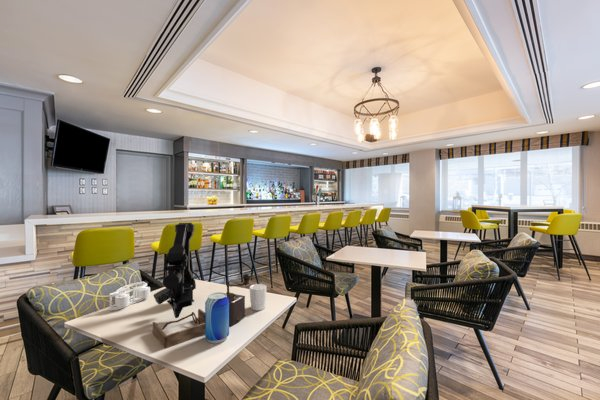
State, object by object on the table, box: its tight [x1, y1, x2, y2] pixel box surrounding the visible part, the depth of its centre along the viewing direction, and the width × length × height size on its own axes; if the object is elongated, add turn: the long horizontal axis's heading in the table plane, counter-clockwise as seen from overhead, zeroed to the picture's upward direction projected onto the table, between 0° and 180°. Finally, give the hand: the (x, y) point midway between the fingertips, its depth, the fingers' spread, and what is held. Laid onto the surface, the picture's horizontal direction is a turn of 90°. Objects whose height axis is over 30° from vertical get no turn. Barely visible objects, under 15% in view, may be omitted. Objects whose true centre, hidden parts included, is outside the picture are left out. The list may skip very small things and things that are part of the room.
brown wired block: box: [152, 308, 205, 349], centre depth 105 cm, size 19×15×4 cm
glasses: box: [161, 311, 203, 331], centre depth 106 cm, size 13×13×5 cm
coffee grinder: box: [224, 273, 252, 328], centre depth 118 cm, size 16×11×18 cm
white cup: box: [249, 283, 268, 311], centre depth 128 cm, size 8×8×10 cm
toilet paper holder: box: [108, 281, 151, 311], centre depth 135 cm, size 20×11×7 cm, turn 157°
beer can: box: [204, 292, 230, 344], centre depth 100 cm, size 8×8×16 cm
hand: (176, 317), depth 115 cm, fingers closed
